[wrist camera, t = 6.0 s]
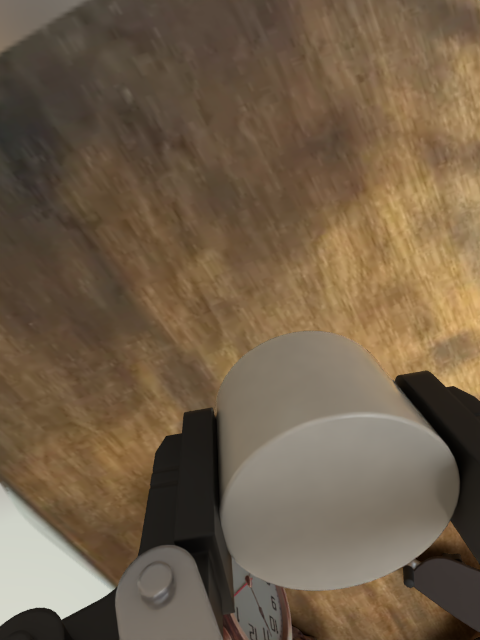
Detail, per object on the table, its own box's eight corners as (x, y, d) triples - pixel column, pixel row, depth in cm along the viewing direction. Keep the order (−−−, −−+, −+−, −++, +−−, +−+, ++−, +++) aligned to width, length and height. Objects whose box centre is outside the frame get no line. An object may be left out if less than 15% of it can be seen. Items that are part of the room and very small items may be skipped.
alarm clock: (280, 539, 34) (332, 800, 20) (236, 564, 35) (257, 831, 21) (204, 468, 30) (203, 732, 16) (156, 498, 31) (118, 774, 17)
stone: (199, 347, 10) (196, 441, 6) (387, 314, 10) (474, 392, 6) (229, 486, 11) (238, 609, 8) (385, 458, 12) (452, 570, 8)
